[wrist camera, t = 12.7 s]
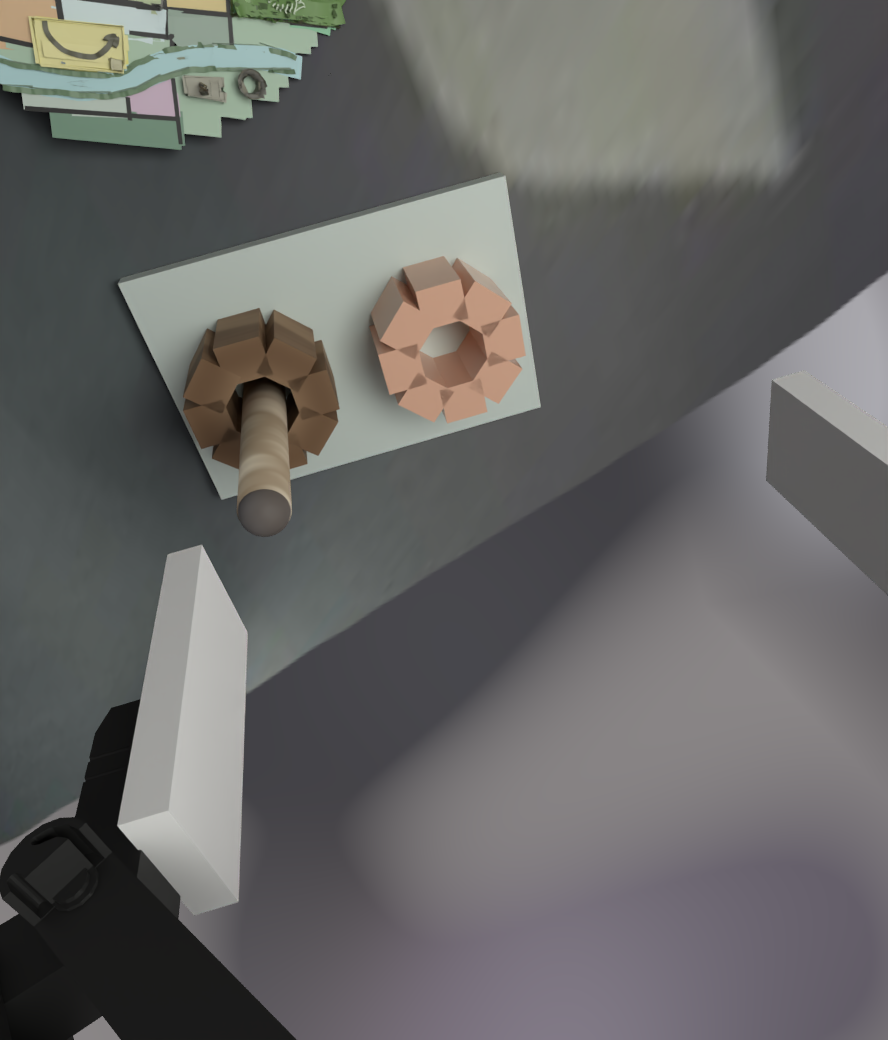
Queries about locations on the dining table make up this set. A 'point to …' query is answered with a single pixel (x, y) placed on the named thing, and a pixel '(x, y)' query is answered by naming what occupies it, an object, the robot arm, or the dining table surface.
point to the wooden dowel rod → (264, 459)
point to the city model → (154, 62)
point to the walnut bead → (251, 355)
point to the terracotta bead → (453, 376)
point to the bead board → (341, 309)
